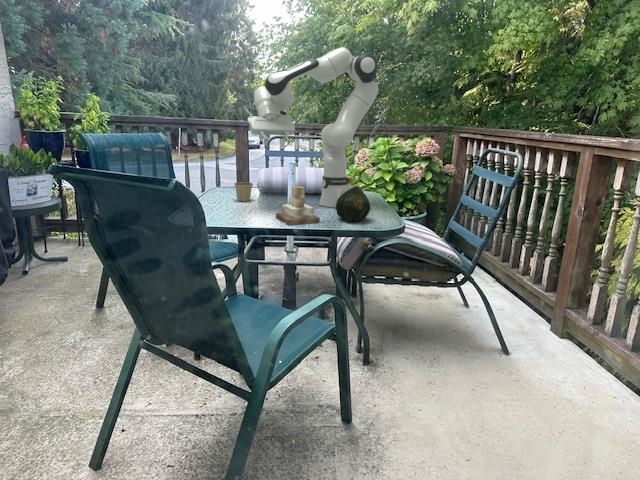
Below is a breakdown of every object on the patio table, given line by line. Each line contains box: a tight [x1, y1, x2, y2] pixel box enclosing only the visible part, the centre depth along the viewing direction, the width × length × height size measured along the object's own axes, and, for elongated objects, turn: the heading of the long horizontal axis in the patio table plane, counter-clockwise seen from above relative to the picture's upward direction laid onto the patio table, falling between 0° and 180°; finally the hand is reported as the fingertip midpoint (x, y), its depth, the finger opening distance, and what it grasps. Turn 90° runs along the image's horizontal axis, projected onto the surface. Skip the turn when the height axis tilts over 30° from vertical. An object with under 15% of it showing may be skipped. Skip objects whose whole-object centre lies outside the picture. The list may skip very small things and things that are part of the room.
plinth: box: [275, 203, 321, 226], centre depth 187 cm, size 14×14×6 cm
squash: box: [335, 185, 371, 223], centre depth 191 cm, size 14×15×15 cm
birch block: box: [291, 185, 306, 207], centre depth 185 cm, size 4×4×8 cm
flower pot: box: [233, 181, 254, 203], centre depth 225 cm, size 9×9×9 cm
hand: (276, 140), depth 196 cm, fingers open, 8 cm apart
